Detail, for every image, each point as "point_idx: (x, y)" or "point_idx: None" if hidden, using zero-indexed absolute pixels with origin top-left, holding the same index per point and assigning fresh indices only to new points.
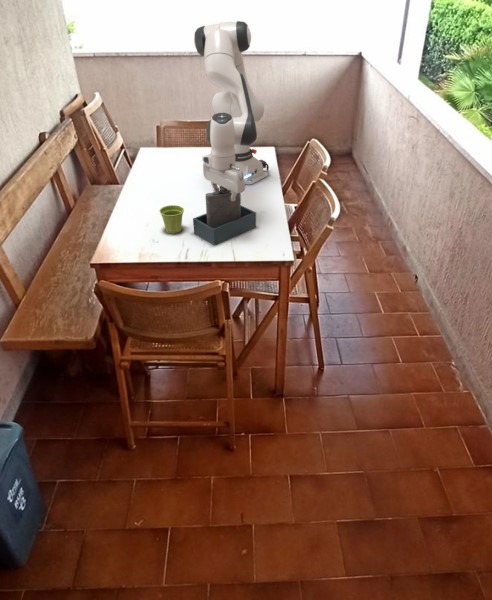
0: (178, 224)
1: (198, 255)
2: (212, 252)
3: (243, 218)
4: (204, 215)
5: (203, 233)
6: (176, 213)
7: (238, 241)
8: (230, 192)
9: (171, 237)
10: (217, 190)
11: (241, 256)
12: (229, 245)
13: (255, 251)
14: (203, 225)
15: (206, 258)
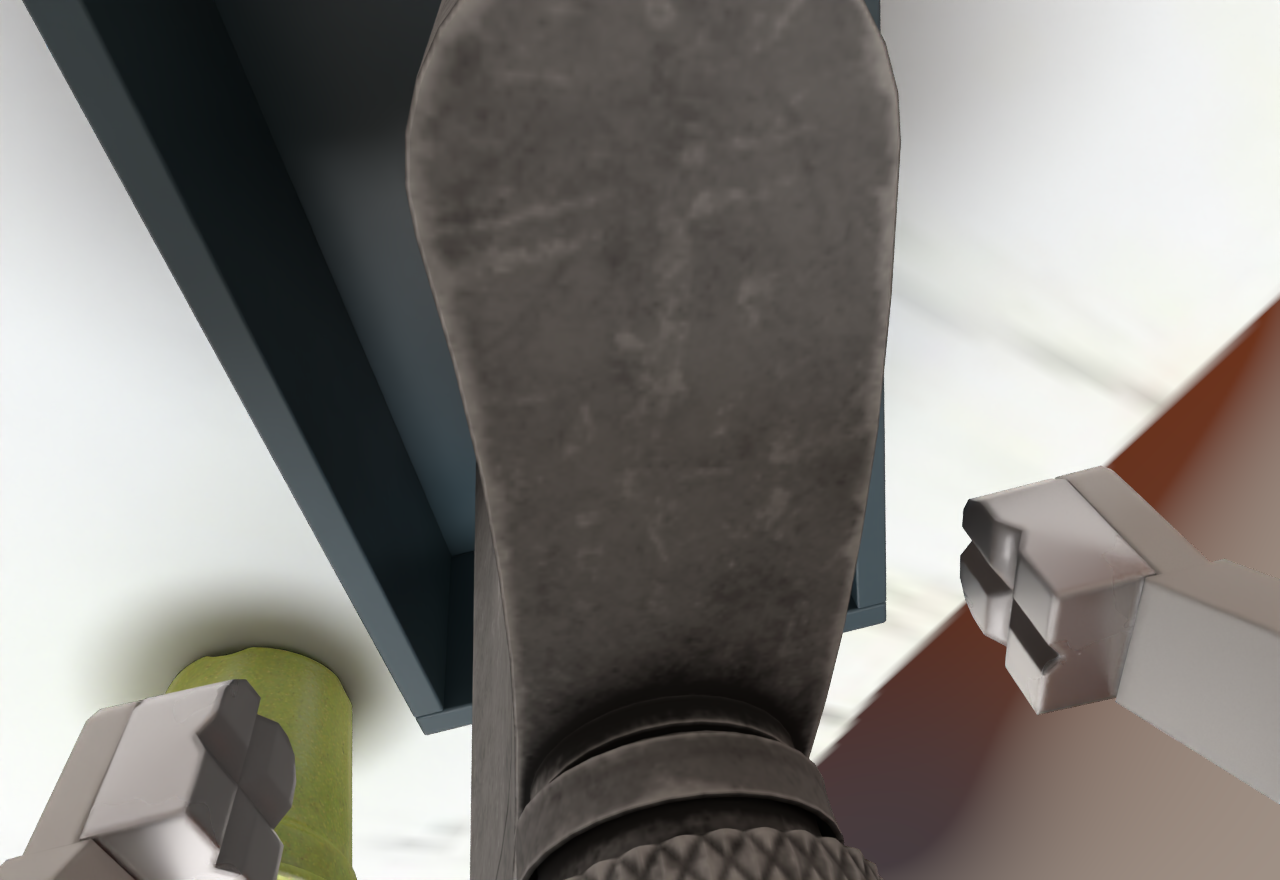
0: (342, 770)
1: (863, 640)
2: (908, 533)
3: (876, 9)
4: (387, 593)
5: None
6: None
7: (923, 190)
8: (842, 620)
9: (417, 740)
10: (236, 802)
11: (1192, 325)
12: (920, 336)
13: (1267, 120)
14: None
15: (953, 603)
